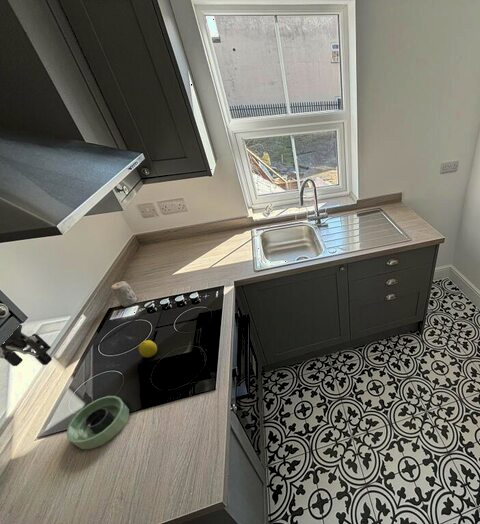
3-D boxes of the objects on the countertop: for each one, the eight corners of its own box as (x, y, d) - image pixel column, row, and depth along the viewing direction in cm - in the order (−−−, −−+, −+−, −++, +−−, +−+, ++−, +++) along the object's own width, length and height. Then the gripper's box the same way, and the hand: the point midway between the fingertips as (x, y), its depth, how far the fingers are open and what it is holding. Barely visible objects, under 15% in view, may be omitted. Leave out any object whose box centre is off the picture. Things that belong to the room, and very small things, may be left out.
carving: (120, 310, 138) (106, 290, 131) (126, 299, 144) (114, 280, 138) (134, 307, 139) (122, 288, 132) (140, 297, 145) (128, 278, 138)
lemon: (161, 348, 118) (153, 334, 113) (158, 359, 113) (149, 345, 109) (146, 352, 116) (137, 338, 112) (143, 363, 112) (133, 349, 108)
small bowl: (90, 439, 89) (81, 431, 86) (93, 421, 93) (85, 414, 91) (113, 428, 91) (106, 420, 89) (115, 411, 96) (108, 404, 93)
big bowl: (72, 460, 85) (62, 452, 82) (80, 418, 95) (71, 410, 92) (129, 433, 90) (121, 425, 88) (130, 396, 101) (123, 388, 98)
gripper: (-55, 335, 70) (-5, 375, 79) (3, 332, 70) (46, 373, 79) (-22, 313, 76) (21, 353, 85) (31, 310, 76) (68, 351, 85)
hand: (33, 362), depth 82 cm, fingers open, 8 cm apart
